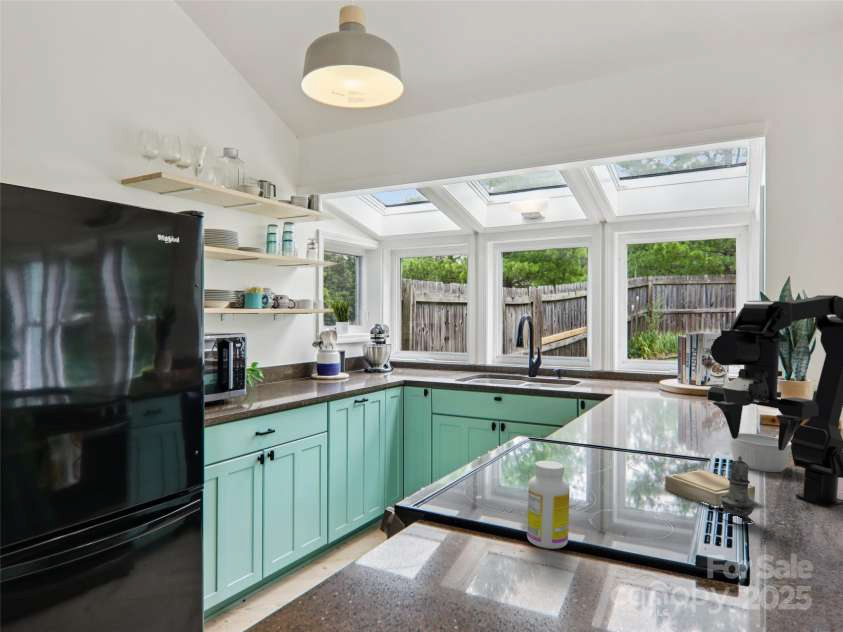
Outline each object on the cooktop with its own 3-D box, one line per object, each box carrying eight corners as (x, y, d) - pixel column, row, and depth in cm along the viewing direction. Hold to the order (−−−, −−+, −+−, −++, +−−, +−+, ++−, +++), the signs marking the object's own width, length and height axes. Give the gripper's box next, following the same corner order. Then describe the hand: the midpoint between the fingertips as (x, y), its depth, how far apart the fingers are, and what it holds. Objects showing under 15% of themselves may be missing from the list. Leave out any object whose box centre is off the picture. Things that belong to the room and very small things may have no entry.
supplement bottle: (569, 536, 93) (572, 461, 93) (566, 553, 87) (569, 472, 87) (529, 530, 96) (532, 456, 95) (523, 546, 89) (526, 467, 89)
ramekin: (773, 460, 146) (774, 434, 146) (802, 475, 133) (803, 447, 133) (720, 457, 147) (721, 431, 147) (744, 472, 134) (745, 444, 134)
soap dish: (702, 483, 125) (702, 468, 125) (754, 501, 114) (755, 485, 114) (665, 489, 119) (665, 474, 119) (716, 509, 109) (716, 492, 109)
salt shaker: (760, 527, 100) (763, 461, 100) (725, 523, 101) (728, 458, 101) (748, 515, 106) (751, 453, 106) (715, 511, 107) (717, 450, 107)
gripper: (690, 360, 113) (687, 436, 113) (785, 372, 96) (780, 461, 96) (726, 359, 118) (723, 432, 118) (822, 370, 101) (817, 455, 101)
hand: (757, 444), depth 108 cm, fingers open, 9 cm apart
